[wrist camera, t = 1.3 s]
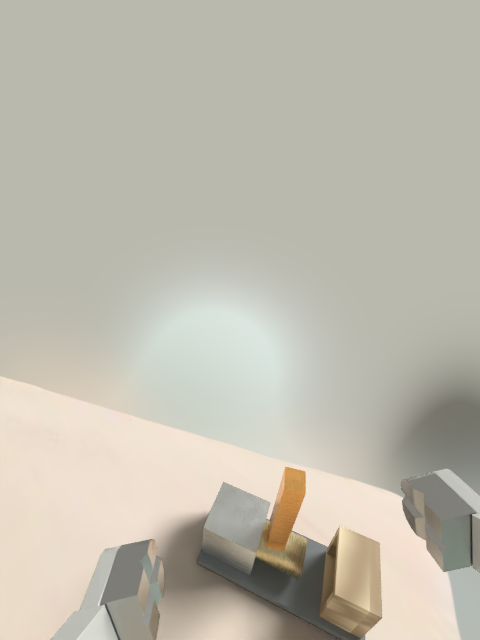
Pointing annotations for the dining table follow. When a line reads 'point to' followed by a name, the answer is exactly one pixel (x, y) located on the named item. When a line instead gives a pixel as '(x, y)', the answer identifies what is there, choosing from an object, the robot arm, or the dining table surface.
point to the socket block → (352, 583)
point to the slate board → (285, 585)
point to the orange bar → (285, 527)
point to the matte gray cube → (235, 527)
